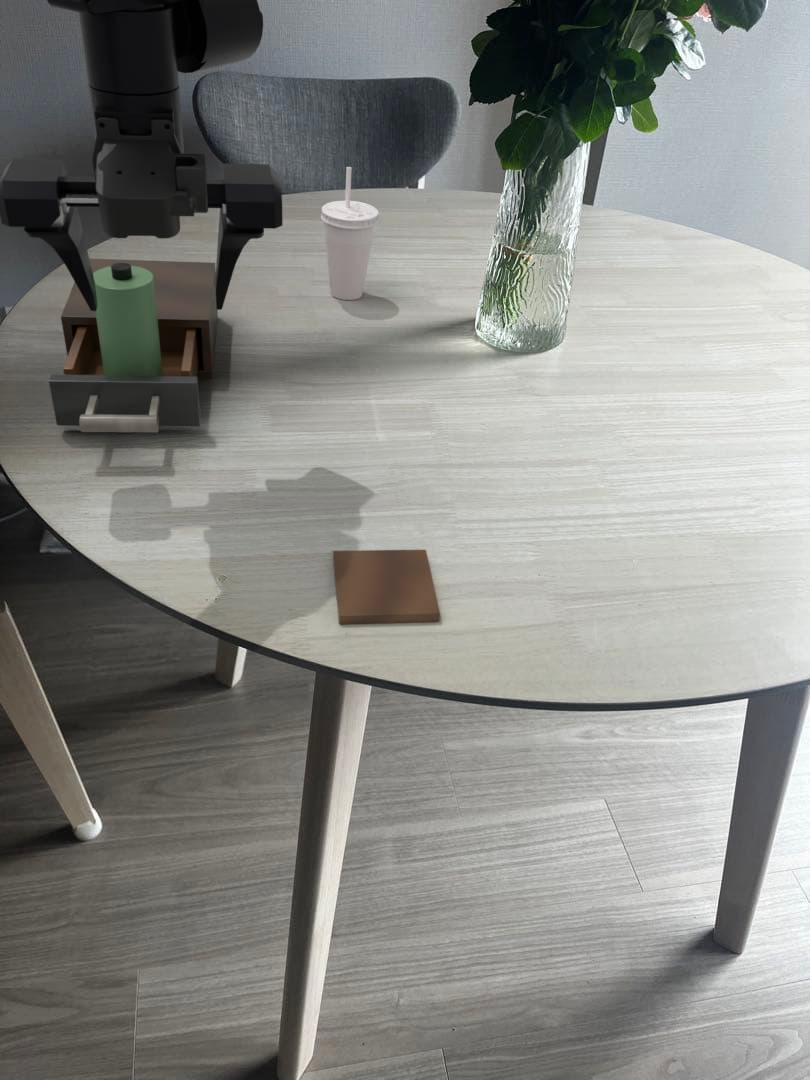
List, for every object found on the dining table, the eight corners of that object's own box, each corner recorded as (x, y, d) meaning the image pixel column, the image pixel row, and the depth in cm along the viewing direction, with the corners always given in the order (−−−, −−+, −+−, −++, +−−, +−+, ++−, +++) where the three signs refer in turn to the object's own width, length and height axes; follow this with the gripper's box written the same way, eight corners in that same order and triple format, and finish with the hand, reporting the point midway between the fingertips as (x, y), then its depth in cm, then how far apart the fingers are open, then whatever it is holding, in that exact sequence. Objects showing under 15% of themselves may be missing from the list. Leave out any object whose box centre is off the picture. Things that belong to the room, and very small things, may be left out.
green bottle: (102, 397, 78) (84, 277, 72) (109, 369, 82) (93, 253, 75) (160, 397, 79) (149, 279, 72) (165, 370, 83) (155, 255, 76)
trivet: (338, 624, 62) (339, 615, 61) (332, 558, 67) (333, 550, 66) (438, 621, 63) (440, 613, 62) (425, 557, 68) (426, 549, 67)
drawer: (196, 456, 74) (193, 411, 72) (46, 456, 73) (37, 410, 70) (206, 359, 88) (204, 317, 85) (79, 356, 86) (73, 314, 83)
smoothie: (352, 278, 108) (358, 157, 99) (385, 298, 104) (394, 174, 96) (308, 288, 105) (310, 164, 96) (340, 309, 101) (345, 181, 92)
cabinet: (212, 378, 86) (209, 319, 83) (70, 376, 84) (60, 316, 81) (217, 317, 97) (215, 262, 93) (91, 314, 95) (83, 258, 91)
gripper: (-44, 114, 51) (11, 362, 60) (288, 123, 54) (289, 356, 64) (-12, 67, 59) (33, 291, 69) (274, 78, 62) (277, 290, 72)
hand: (157, 308), depth 68 cm, fingers open, 9 cm apart
